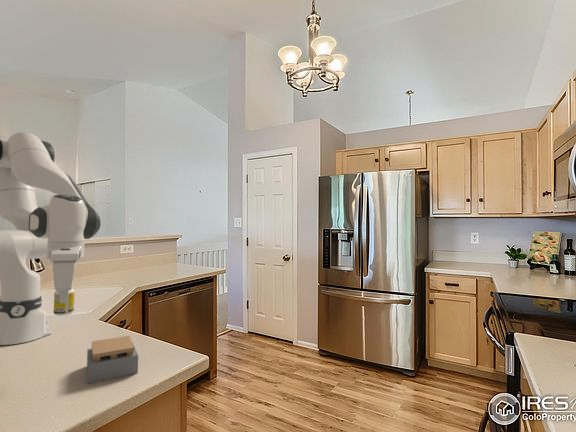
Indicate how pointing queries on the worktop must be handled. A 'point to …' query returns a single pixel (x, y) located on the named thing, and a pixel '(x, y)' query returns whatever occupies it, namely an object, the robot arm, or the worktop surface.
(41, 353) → the worktop surface
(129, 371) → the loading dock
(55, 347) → the worktop surface
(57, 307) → the supplement bottle
